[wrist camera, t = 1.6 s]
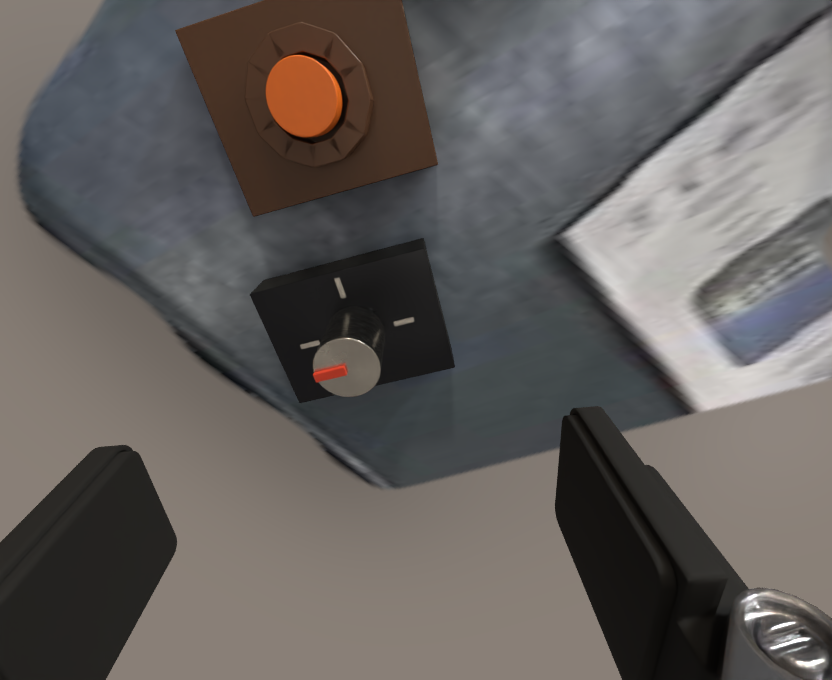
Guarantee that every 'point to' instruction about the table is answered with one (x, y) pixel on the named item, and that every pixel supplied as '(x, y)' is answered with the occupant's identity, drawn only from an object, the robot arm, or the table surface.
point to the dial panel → (365, 287)
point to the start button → (303, 96)
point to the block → (356, 75)
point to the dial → (350, 352)
